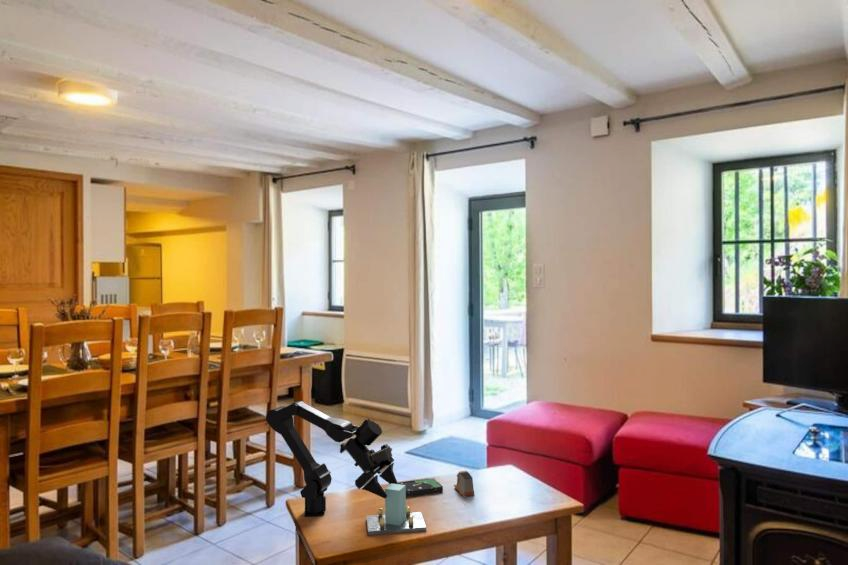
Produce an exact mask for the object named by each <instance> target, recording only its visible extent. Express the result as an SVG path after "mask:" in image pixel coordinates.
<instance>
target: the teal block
mask: <svg viewBox="0 0 848 565" xmlns="http://www.w3.org/2000/svg"><path fill="white" fill-rule="evenodd" d="M384 491H385V493H386V495H387V497H386V498H385V499H384V508H385V510H384V514H385V523H386V524H392V525H399V526H400V525H401V524H402V523H403V522H404V521H405V520H406V506H407V505H406V504H407V497H406V485H400V484H392V483H391V484H389V485H387V486H386V487H385V488H384Z"/></svg>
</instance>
